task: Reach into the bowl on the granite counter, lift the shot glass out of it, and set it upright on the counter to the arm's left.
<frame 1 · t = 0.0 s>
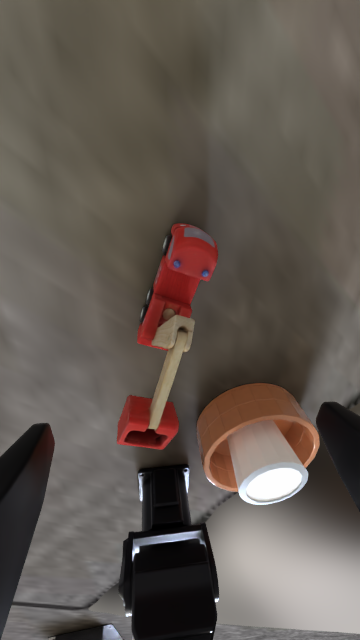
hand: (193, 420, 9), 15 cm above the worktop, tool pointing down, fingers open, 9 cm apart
shot glass: (247, 424, 31), resting on bowl
toy fire truck: (163, 301, 23), on the worktop
bowl: (247, 422, 31), on the worktop
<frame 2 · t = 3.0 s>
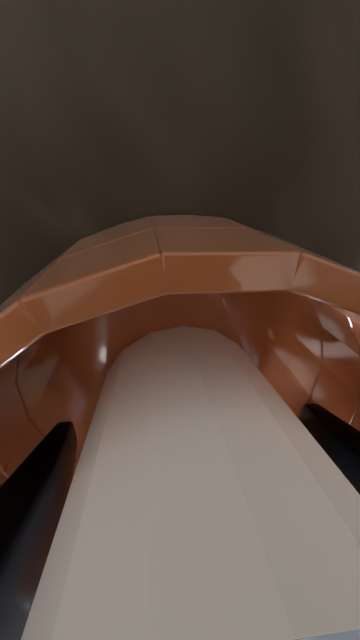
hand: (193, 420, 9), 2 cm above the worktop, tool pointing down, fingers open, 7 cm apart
shot glass: (179, 386, 10), resting on bowl
bowl: (178, 382, 10), on the worktop
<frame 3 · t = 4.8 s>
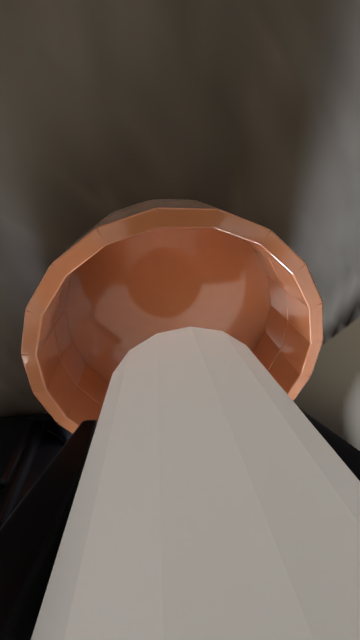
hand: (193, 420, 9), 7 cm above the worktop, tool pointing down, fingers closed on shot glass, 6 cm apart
shot glass: (186, 388, 10), point 6 cm above the worktop, touching gripper
bowl: (171, 317, 15), on the worktop
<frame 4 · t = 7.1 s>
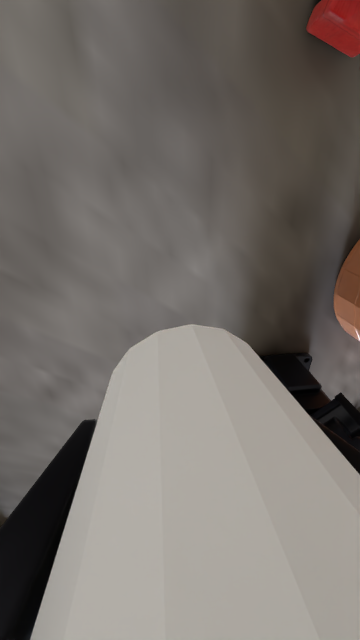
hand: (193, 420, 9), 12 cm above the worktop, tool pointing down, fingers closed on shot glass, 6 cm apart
shot glass: (186, 387, 10), point 10 cm above the worktop, touching gripper
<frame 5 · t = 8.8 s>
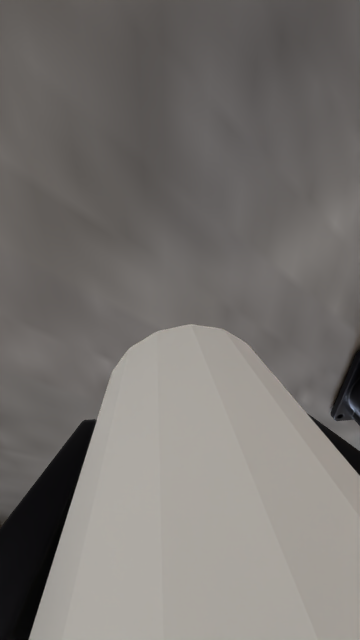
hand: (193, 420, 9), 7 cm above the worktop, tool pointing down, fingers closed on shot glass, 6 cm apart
shot glass: (186, 387, 10), point 6 cm above the worktop, touching gripper
when the fingers open (1 cm above the worktop, at t = 10.7 s): shot glass stays where it is, on the worktop.
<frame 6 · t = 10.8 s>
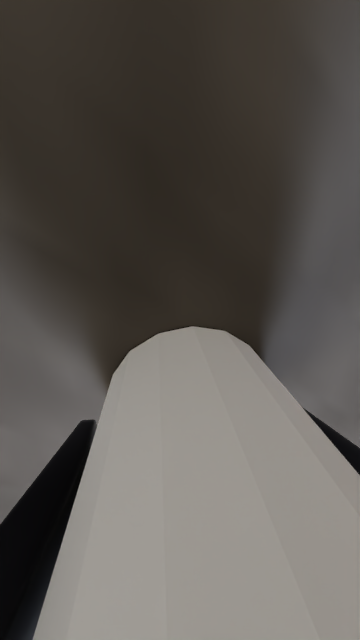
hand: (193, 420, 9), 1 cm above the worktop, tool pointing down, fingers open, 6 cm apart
shot glass: (187, 389, 10), on the worktop
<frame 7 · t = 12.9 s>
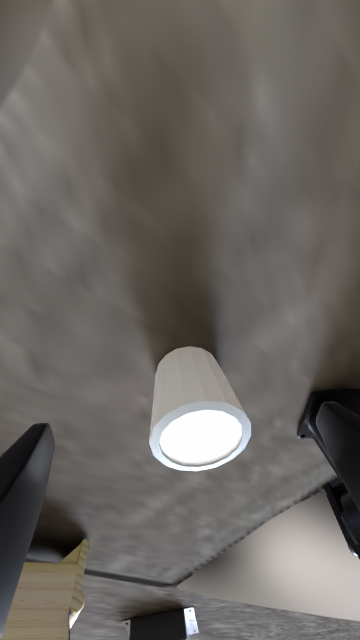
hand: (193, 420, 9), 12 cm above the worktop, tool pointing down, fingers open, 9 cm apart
shot glass: (187, 371, 23), on the worktop
black wifi router: (163, 628, 55), on the worktop
toy sofa: (4, 545, 33), on the worktop
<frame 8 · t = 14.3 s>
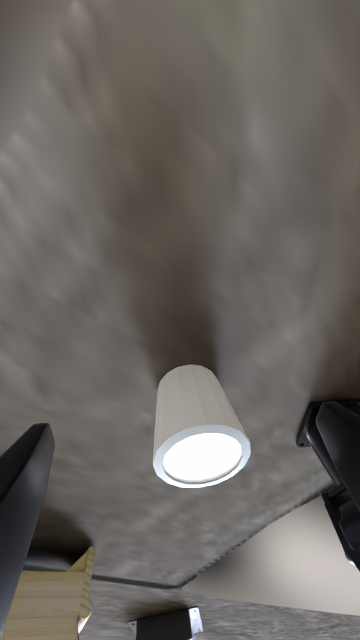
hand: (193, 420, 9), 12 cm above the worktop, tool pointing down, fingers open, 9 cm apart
shot glass: (187, 387, 24), on the worktop
black wifi router: (169, 627, 56), on the worktop
toy sofa: (13, 554, 34), on the worktop
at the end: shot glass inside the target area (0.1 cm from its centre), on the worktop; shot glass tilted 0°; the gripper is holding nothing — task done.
